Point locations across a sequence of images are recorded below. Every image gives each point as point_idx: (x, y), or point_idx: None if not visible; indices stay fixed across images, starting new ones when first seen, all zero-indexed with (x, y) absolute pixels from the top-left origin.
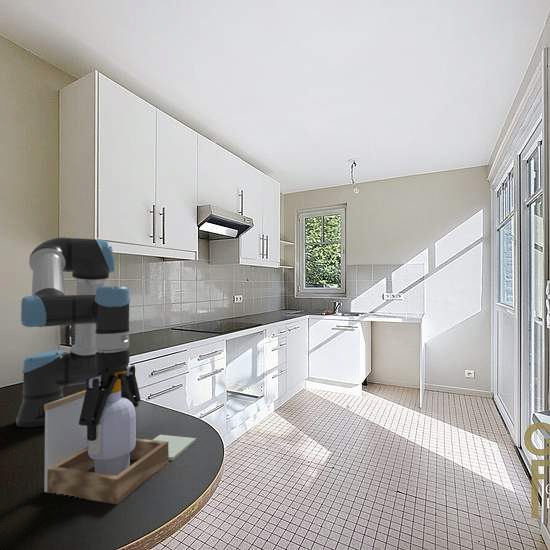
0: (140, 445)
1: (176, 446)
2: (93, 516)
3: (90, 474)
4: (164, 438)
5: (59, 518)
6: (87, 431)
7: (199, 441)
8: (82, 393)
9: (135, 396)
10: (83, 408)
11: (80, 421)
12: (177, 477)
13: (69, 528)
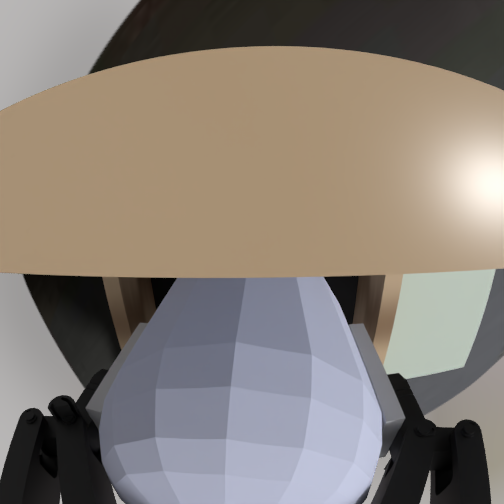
0: (368, 332)
1: (425, 356)
2: (114, 352)
3: (123, 343)
4: (474, 292)
5: (80, 296)
6: (80, 397)
7: (457, 369)
8: (104, 268)
9: (434, 486)
10: (9, 474)
11: (23, 425)
12: None
13: (78, 334)
